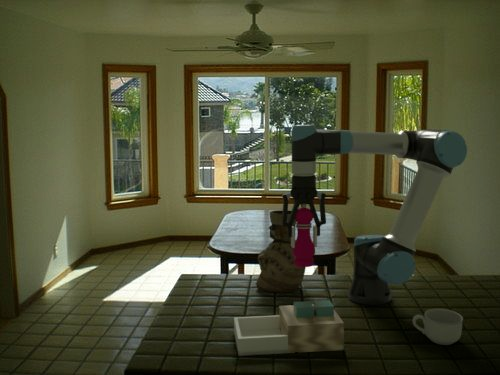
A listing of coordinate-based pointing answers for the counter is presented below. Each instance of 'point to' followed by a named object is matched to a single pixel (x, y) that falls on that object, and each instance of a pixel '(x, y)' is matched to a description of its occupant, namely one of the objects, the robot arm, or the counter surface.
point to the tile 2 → (323, 308)
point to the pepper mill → (303, 238)
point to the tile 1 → (303, 309)
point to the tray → (259, 335)
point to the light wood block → (311, 331)
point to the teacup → (441, 325)
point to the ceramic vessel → (279, 260)
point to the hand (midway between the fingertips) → (303, 246)
